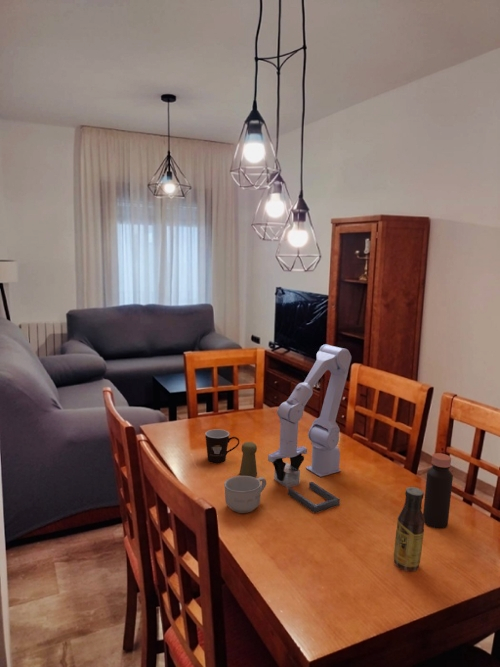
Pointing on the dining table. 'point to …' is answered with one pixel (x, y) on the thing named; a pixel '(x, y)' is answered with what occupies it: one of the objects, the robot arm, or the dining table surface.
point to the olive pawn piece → (248, 460)
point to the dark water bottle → (438, 492)
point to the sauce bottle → (410, 532)
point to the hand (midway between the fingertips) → (286, 477)
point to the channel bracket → (311, 506)
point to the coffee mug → (218, 445)
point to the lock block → (289, 476)
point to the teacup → (243, 493)
